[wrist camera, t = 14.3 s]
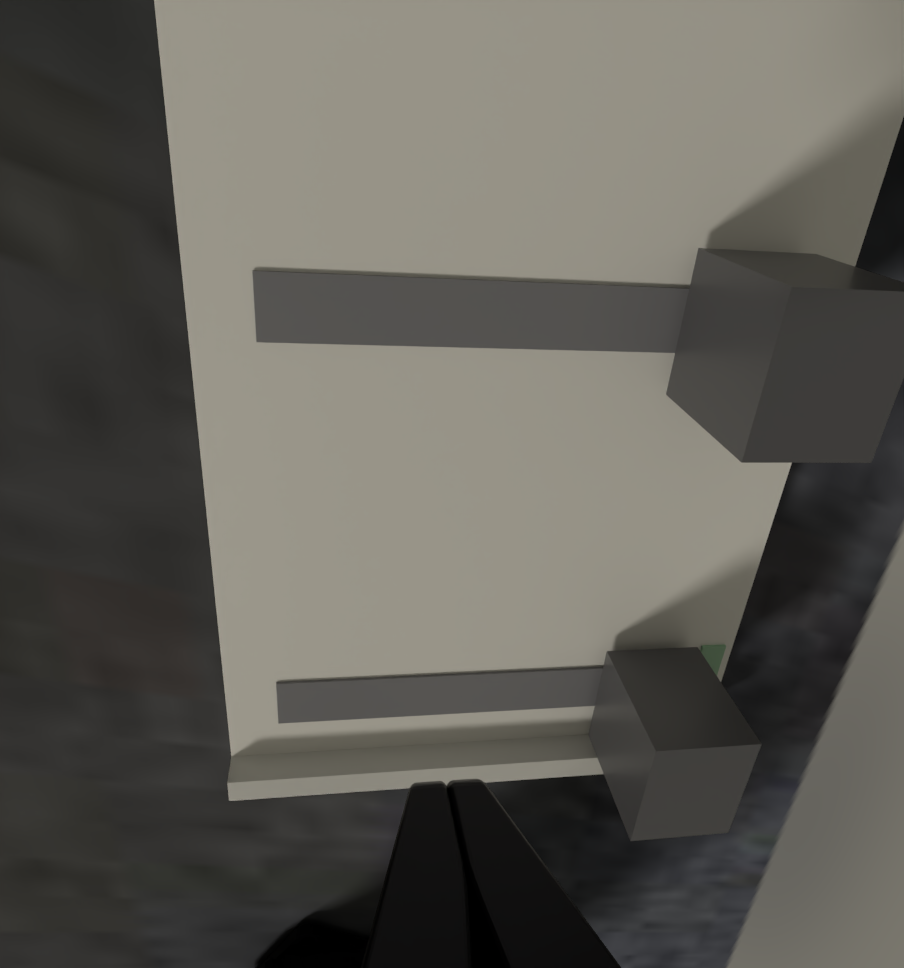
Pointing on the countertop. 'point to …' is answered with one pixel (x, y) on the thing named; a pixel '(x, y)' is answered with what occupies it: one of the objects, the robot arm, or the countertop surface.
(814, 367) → the block
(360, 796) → the countertop surface
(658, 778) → the block
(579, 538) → the switch panel
